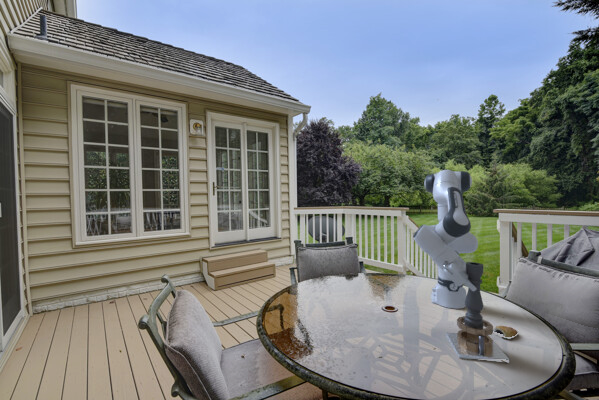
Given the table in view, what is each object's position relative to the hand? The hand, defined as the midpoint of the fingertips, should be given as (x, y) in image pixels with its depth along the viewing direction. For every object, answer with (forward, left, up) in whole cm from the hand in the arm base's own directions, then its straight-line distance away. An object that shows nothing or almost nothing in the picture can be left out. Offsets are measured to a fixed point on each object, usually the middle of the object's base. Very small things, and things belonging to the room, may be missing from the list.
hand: (476, 288), depth 104 cm
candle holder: (0, -1, -16) cm, 16 cm away
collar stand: (0, -1, -24) cm, 24 cm away
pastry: (-14, +16, -24) cm, 32 cm away
